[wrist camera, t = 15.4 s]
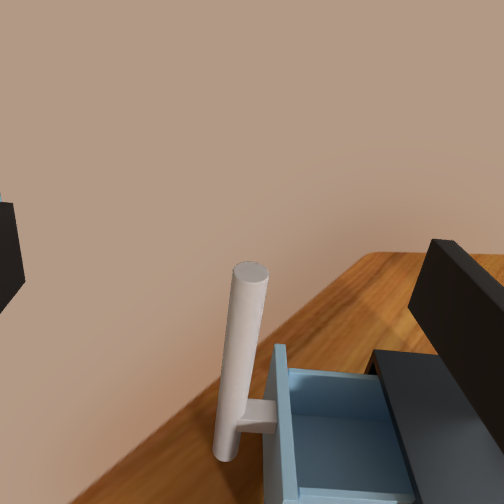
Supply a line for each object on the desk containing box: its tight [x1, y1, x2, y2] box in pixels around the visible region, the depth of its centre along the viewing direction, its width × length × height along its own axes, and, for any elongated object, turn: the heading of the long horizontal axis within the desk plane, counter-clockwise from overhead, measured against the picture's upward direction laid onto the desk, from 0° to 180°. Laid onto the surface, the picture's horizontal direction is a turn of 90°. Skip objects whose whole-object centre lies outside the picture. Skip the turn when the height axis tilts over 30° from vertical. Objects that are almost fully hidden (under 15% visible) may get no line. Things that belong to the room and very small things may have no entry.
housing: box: [364, 349, 504, 504], centre depth 36 cm, size 16×14×10 cm
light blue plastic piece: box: [212, 261, 416, 504], centre depth 32 cm, size 20×14×22 cm
